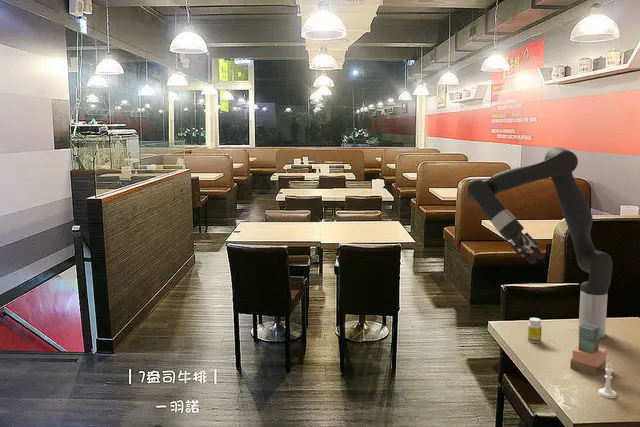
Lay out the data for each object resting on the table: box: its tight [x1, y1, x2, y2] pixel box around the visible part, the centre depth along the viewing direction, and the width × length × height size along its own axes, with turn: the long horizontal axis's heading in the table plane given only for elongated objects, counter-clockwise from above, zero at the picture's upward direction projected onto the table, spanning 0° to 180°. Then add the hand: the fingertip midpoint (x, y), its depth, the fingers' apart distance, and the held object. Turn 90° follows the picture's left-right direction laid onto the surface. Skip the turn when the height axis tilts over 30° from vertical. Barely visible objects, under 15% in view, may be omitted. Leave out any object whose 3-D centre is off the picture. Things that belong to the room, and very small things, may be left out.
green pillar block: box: [578, 323, 600, 354], centre depth 180 cm, size 4×4×8 cm
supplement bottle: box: [527, 317, 543, 344], centre depth 205 cm, size 5×5×8 cm
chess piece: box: [597, 362, 617, 399], centre depth 164 cm, size 5×5×10 cm
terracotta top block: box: [571, 345, 608, 367], centre depth 181 cm, size 8×8×4 cm
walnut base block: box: [570, 358, 607, 377], centre depth 182 cm, size 8×8×4 cm
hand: (538, 260), depth 189 cm, fingers open, 8 cm apart
